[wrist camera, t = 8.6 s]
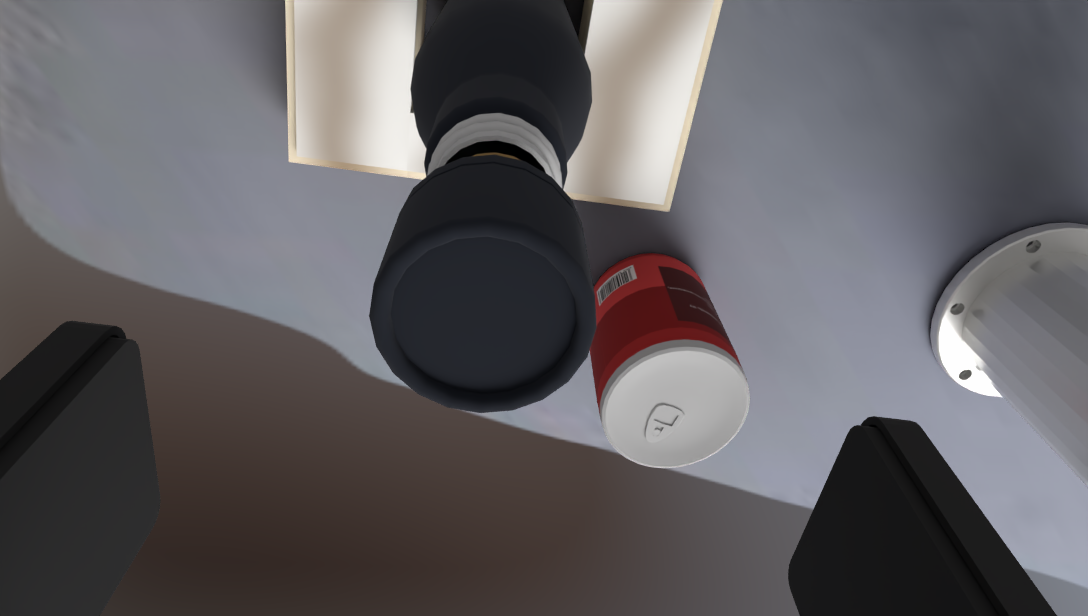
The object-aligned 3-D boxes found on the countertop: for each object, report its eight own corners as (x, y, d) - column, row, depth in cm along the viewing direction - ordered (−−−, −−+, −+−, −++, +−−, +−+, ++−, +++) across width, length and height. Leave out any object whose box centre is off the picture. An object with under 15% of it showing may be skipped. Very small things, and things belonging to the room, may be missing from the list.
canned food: (574, 349, 49) (587, 462, 39) (597, 240, 45) (619, 337, 35) (686, 362, 49) (725, 477, 40) (718, 256, 45) (771, 355, 36)
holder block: (726, -106, 36) (751, -104, 32) (657, 185, 43) (670, 214, 39) (305, -181, 34) (278, -189, 30) (308, 138, 41) (286, 164, 37)
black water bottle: (497, -71, 36) (444, 45, 10) (594, 19, 38) (752, 303, 12) (421, 34, 38) (217, 348, 12) (515, 113, 41) (510, 519, 15)
